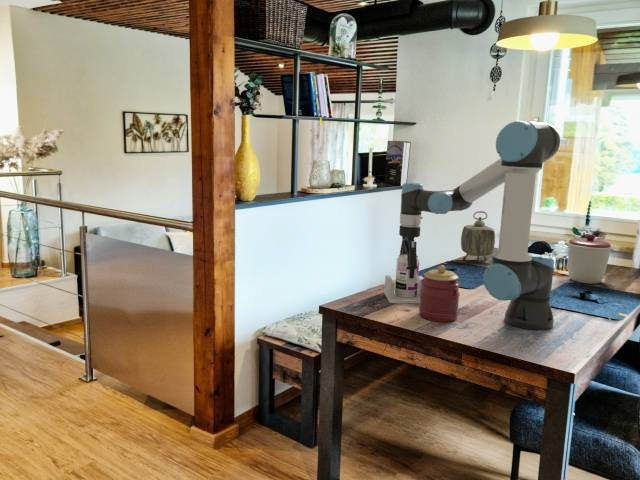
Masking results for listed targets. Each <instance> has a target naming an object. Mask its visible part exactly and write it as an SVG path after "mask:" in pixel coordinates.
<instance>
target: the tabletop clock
mask: <svg viewBox="0 0 640 480" xmlns="http://www.w3.org/2000/svg"><path fill="white" fill-rule="evenodd" d="M481 213H482V214H485V217H484V218H483V217H481V216H479V217H476V216H475V215H476V214H481ZM472 217H473V219H475V222H474V224H466V225H465V226H463V228H462V231H461V236H460V248H461V251H462V252H463V253H465V256H463V257H462V261H463V260H464V261H465V260H467V258H468V256H471V257H472V256H473V257H474V256H475V257H477V259H476V263H478V264H479V263H480V262H481V261H480V257H483V261H487V260H488V257H487V256H491V255H493V253H494V250H495V244H496V232H495V229H494V228H491V226H487V225H486V223H485V222H484V220H485V219H487V218H488V214H487V212H485V211H484V210H483V211H482V210H481V211H476V212H474V213H473V215H472Z"/></svg>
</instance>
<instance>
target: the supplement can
mask: <svg viewBox="0 0 640 480" xmlns="http://www.w3.org/2000/svg"><path fill="white" fill-rule="evenodd" d="M411 266H413V265H411ZM407 267H408V259H407V254H401V255H400V254H399V255H398V257H397V259H396V270H395V282H394V283H395V294H396V295H397V296H399V297H403V298H413V297H415V296H416V295H417V288H418V276H420V275H419V272H420V259H419V257H418V255H417V269H415V282H414V287H407V286H406V284H407V269H406V268H407Z"/></svg>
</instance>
